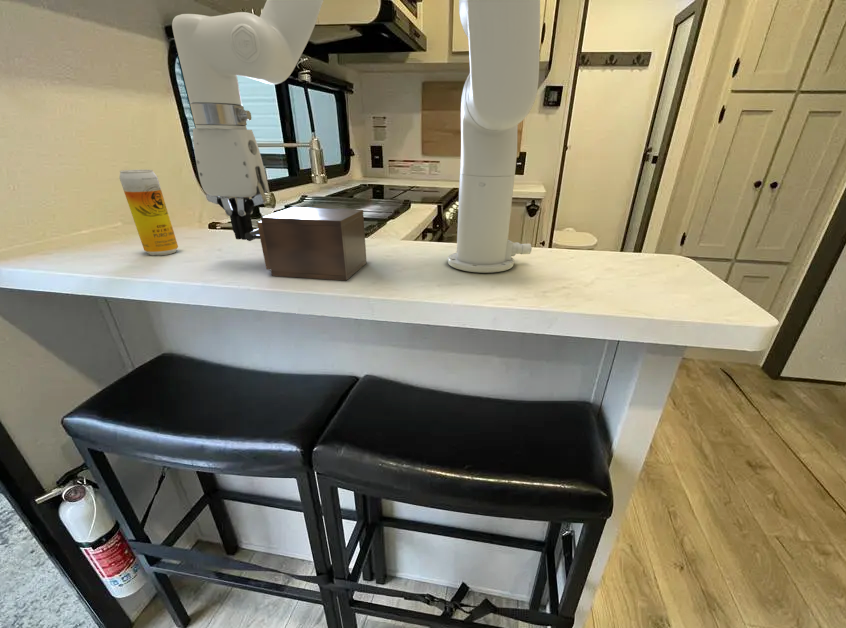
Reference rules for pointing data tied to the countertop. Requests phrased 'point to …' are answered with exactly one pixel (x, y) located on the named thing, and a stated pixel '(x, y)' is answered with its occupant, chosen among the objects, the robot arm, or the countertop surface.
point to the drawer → (260, 235)
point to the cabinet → (315, 242)
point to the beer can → (149, 211)
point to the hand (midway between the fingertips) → (244, 237)
